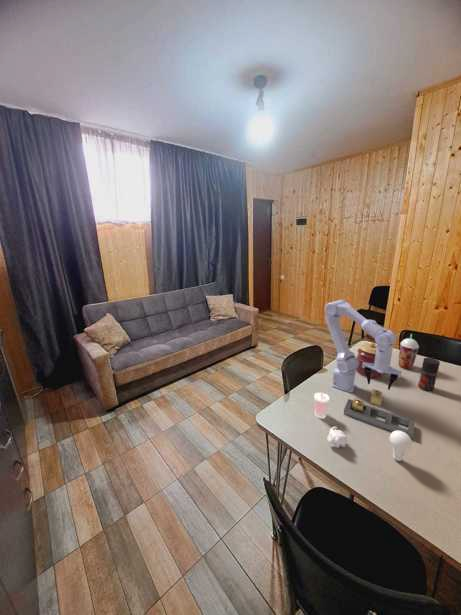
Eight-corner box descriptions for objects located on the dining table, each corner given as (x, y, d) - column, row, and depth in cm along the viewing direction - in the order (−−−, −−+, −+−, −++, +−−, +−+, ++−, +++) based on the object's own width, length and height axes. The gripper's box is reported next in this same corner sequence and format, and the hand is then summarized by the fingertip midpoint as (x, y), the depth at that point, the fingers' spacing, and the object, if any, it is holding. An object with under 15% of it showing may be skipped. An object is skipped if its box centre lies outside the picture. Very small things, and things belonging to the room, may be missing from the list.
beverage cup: (316, 407, 109) (319, 380, 105) (330, 414, 105) (333, 386, 101) (310, 414, 105) (312, 386, 101) (323, 422, 101) (326, 392, 97)
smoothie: (418, 370, 135) (425, 337, 129) (402, 370, 135) (409, 337, 129) (407, 362, 143) (413, 331, 137) (393, 363, 143) (398, 331, 137)
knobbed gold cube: (370, 403, 111) (371, 392, 110) (371, 398, 114) (373, 388, 113) (380, 406, 109) (382, 395, 107) (381, 401, 112) (383, 391, 110)
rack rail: (343, 413, 105) (344, 409, 104) (348, 403, 111) (348, 398, 110) (412, 439, 91) (413, 434, 90) (413, 426, 97) (414, 421, 97)
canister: (357, 363, 144) (361, 335, 139) (383, 370, 137) (387, 340, 132) (353, 373, 134) (356, 344, 129) (380, 381, 127) (385, 350, 122)
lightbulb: (382, 452, 86) (386, 427, 83) (398, 450, 87) (403, 425, 84) (394, 468, 80) (400, 441, 77) (412, 466, 81) (418, 439, 78)
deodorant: (436, 392, 117) (442, 364, 112) (421, 391, 118) (428, 363, 114) (429, 385, 122) (435, 358, 118) (415, 384, 123) (421, 357, 119)
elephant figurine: (322, 438, 93) (323, 425, 92) (343, 436, 94) (344, 423, 92) (331, 453, 87) (332, 439, 85) (352, 451, 87) (354, 437, 86)
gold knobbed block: (351, 413, 105) (352, 402, 104) (353, 408, 108) (354, 397, 107) (361, 417, 103) (362, 406, 101) (363, 412, 106) (364, 401, 104)
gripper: (362, 357, 106) (358, 384, 110) (402, 367, 98) (397, 396, 102) (365, 351, 112) (361, 377, 115) (403, 359, 103) (398, 387, 107)
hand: (378, 385), depth 109 cm, fingers open, 7 cm apart
